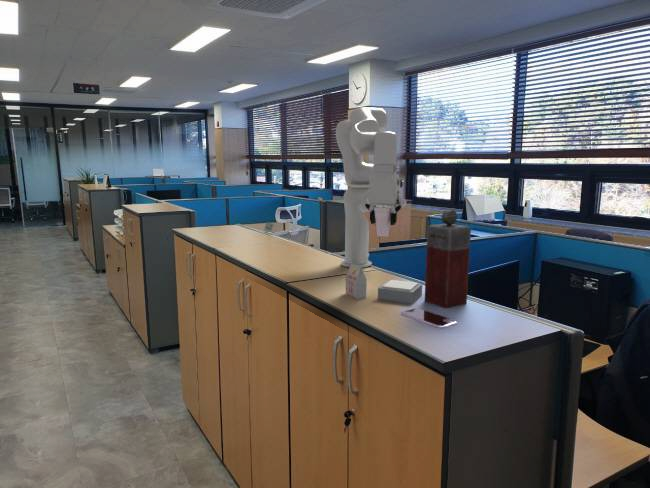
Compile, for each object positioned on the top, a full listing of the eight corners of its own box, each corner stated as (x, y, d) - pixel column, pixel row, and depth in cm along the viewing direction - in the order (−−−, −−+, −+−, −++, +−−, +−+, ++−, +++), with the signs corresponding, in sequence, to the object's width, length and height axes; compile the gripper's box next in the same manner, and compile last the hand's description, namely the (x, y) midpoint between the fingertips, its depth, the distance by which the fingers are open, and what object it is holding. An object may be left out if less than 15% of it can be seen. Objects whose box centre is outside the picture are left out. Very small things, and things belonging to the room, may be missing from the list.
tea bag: (355, 292, 154) (356, 262, 152) (366, 297, 148) (366, 266, 146) (345, 293, 152) (345, 263, 150) (355, 299, 146) (356, 267, 144)
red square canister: (439, 294, 151) (443, 207, 147) (467, 303, 142) (472, 210, 137) (418, 299, 146) (422, 208, 142) (446, 308, 137) (451, 211, 133)
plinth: (388, 290, 156) (389, 278, 155) (421, 294, 151) (422, 282, 151) (377, 299, 146) (378, 286, 146) (412, 303, 142) (413, 290, 141)
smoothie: (370, 236, 158) (371, 194, 156) (376, 234, 164) (377, 193, 162) (389, 237, 156) (390, 195, 153) (394, 235, 162) (395, 194, 159)
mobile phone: (417, 307, 136) (460, 320, 124) (417, 310, 137) (459, 324, 125) (398, 311, 132) (440, 326, 120) (398, 315, 132) (440, 330, 120)
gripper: (413, 170, 156) (411, 224, 159) (364, 169, 163) (363, 221, 166) (406, 170, 149) (404, 227, 152) (355, 169, 157) (354, 223, 160)
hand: (383, 223), depth 159 cm, fingers closed on smoothie, 6 cm apart
